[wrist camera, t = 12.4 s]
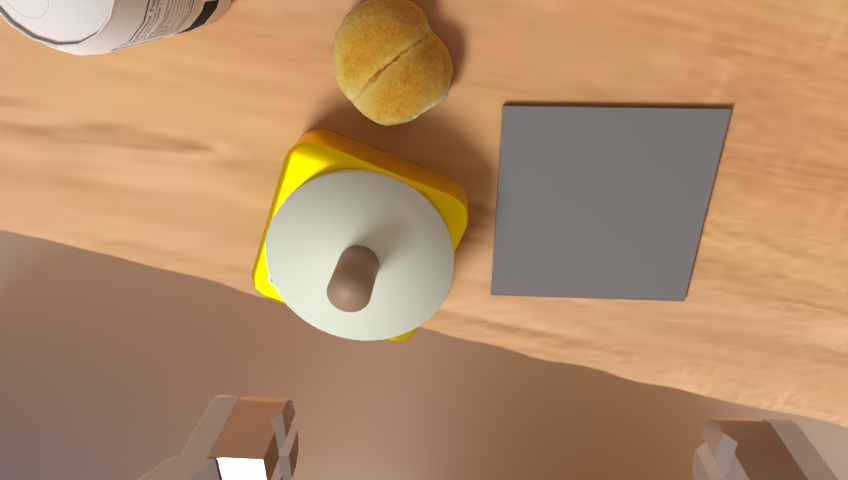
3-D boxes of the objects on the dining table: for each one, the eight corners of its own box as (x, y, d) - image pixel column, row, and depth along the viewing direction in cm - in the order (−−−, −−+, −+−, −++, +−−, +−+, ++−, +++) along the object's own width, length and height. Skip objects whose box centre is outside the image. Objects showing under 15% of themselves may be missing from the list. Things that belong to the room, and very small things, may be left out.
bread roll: (398, -27, 40) (392, -27, 36) (468, 78, 43) (469, 88, 39) (311, 43, 42) (297, 51, 39) (383, 138, 45) (377, 153, 41)
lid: (455, 169, 41) (454, 198, 36) (453, 335, 48) (452, 378, 43) (256, 168, 42) (229, 195, 37) (281, 331, 49) (261, 372, 44)
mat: (728, 108, 42) (731, 109, 42) (682, 298, 50) (684, 301, 49) (502, 105, 43) (503, 106, 43) (490, 292, 51) (491, 295, 50)
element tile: (476, 186, 47) (477, 209, 42) (412, 321, 53) (408, 353, 49) (305, 119, 45) (289, 135, 41) (261, 267, 52) (243, 295, 47)
